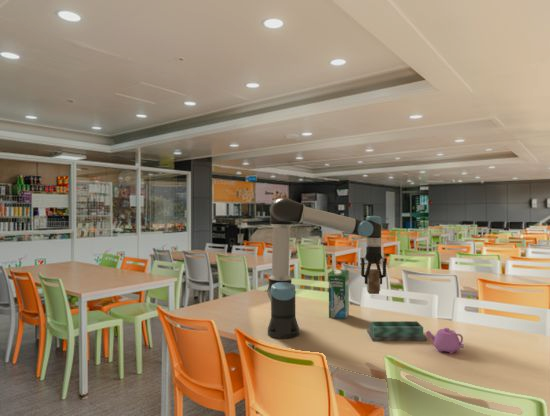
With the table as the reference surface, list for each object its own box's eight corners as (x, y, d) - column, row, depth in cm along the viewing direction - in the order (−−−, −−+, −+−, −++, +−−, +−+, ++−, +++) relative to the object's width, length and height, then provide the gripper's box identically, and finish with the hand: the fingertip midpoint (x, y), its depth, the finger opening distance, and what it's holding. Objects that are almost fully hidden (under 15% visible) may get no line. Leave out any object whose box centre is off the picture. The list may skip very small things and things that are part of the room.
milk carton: (328, 317, 221) (328, 271, 221) (332, 313, 229) (332, 268, 229) (345, 319, 217) (345, 272, 217) (348, 314, 226) (348, 269, 226)
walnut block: (369, 293, 210) (369, 270, 210) (367, 291, 215) (367, 269, 215) (379, 294, 210) (379, 270, 210) (377, 291, 215) (377, 269, 215)
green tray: (372, 340, 183) (372, 328, 183) (367, 332, 195) (367, 320, 195) (426, 340, 182) (426, 328, 182) (418, 332, 194) (418, 320, 194)
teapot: (462, 357, 162) (461, 334, 162) (422, 350, 171) (422, 328, 170) (465, 349, 171) (465, 327, 171) (428, 343, 179) (428, 322, 179)
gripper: (357, 246, 209) (357, 291, 209) (393, 246, 208) (392, 292, 208) (355, 244, 216) (354, 288, 217) (389, 245, 216) (389, 289, 216)
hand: (373, 290), depth 213 cm, fingers closed on walnut block, 5 cm apart
